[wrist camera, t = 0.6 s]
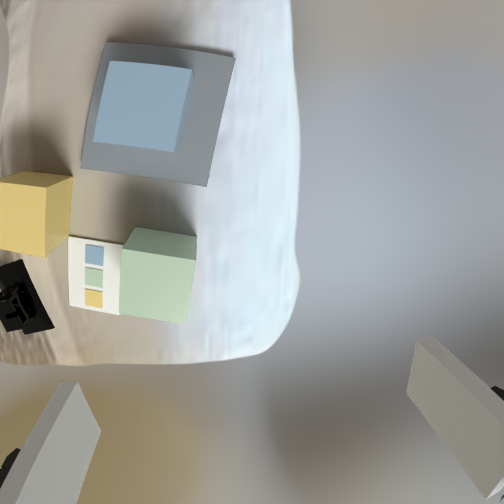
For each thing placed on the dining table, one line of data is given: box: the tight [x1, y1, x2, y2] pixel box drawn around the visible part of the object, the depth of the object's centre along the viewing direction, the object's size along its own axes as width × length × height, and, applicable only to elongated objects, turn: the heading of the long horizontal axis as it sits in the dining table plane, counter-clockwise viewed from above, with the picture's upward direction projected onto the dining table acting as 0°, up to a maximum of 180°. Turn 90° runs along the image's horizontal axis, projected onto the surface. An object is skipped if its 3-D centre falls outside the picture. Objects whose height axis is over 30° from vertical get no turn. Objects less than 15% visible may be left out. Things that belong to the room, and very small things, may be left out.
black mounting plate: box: [0, 259, 55, 334], centre depth 28 cm, size 12×7×5 cm, turn 12°
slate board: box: [80, 42, 236, 187], centre depth 25 cm, size 12×12×1 cm
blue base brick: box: [93, 61, 194, 152], centre depth 22 cm, size 6×6×6 cm
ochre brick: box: [0, 171, 73, 258], centre depth 24 cm, size 6×6×6 cm
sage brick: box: [119, 227, 197, 324], centre depth 28 cm, size 6×6×6 cm
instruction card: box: [68, 236, 124, 315], centre depth 30 cm, size 8×6×1 cm
